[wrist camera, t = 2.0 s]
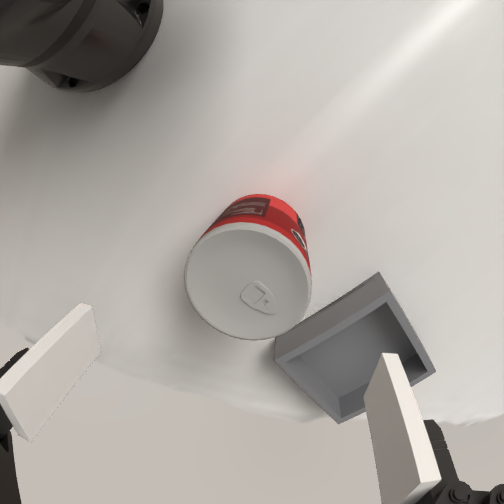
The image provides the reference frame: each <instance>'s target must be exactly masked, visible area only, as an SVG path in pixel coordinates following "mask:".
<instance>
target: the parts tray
mask: <svg viewBox="0 0 504 504" xmlns="http://www.w3.org/2000/svg"><path fill="white" fill-rule="evenodd" d="M382 353H393V354H398V356H399V359H400V361H401V364H402V366H403V368H404V371H405V374H406V376H407V379H408V381H409V384H410V386H411V387H412V386H414V385H415V384H417V383H419V382H420V381H422V380H424V379H425V378H427V377H428V376H430V375H432V374H433V373H435V372H436V370H435V368H434V366H433V364H432V362H431V360H430V358H429V356H428V354H427V352H426V350H425V348H424V347H423V345H422V343H421V341H420V339H419V338H418V336H417V334H416V332H415V331H414V329H413V327H412V325H411V324H410V322H409V320H408V318H407V317H406V315H405V313H404V312H403V310H402V308H401V307H400V305H399V303H398V302H397V300H396V298H395V297H394V295H393V293H392V292H391V290H390V288H389V287H388V285H387V284H386V282H385V280H384V279H383V277H382V276H381V274H380V273H379V272H378V273H376V274H375V275H373V276H372V277H370V278H369V279H367V280H366V281H364V282H363V283H362V284H360V285H359V286H357V287H356V288H354V289H352V290H351V291H349V292H348V293H346V294H345V295H343V296H342V297H340V298H339V299H337V300H336V301H334V302H332V303H331V304H329V305H328V306H326V307H325V308H323V309H321V310H320V311H318V312H317V313H315V314H313V315H312V316H310V317H308V318H307V319H305V320H304V321H302V322H300V323H299V324H297V325H295V326H294V327H293V328H291V329H290V330H289V331H287V332H286V333H284V334H281V335H279V336H277V337H276V342H275V353H274V361H275V362H276V363H277V364H278V365H279V366H280V367H281V369H282V370H283V371H284V372H285V373H286V374H287V375H288V376H289V377H290V378H291V379H292V380H293V381H294V382H295V383H296V384H297V385H298V386H299V387H300V388H301V389H303V390H304V391H305V392H306V393H307V394H308V395H309V396H310V397H311V398H312V399H313V400H314V401H315V402H316V403H317V404H318V405H319V406H320V407H321V408H322V409H323V410H324V411H325V412H326V413H327V414H328V415H329V416H330V417H331V418H333V419H334V420H335V421H336V422H337V423H338V424H340V423H342V422H344V421H347V420H349V419H351V418H353V417H355V416H357V415H359V414H361V413H363V412H365V411H366V408H365V403H364V398H363V396H364V394H365V392H366V390H367V388H368V385H369V383H370V381H371V378H372V376H373V374H374V371H375V369H376V367H377V364H378V362H379V359H380V357H381V354H382Z"/></svg>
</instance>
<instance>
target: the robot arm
mask: <svg viewBox="0 0 504 504" xmlns="http://www.w3.org/2000/svg"><path fill="white" fill-rule="evenodd" d="M162 14H163V0H0V65H6V66H17V67H25V68H26V69H28V70H29V71H31V72H32V73H34V74H35V75H36V76H38V77H39V78H41V79H42V80H43V81H45V82H46V83H48V84H49V85H51V86H53V87H55V88H57V89H60V90H65V91H73V92H90V91H94V90H98V89H100V88H103V87H105V86H108V85H109V84H111V83H113V82H115V81H116V80H118V79H119V78H121V77H122V76H123V75H125V74H126V73H127V72H128V71H129V70H130V69H131V68H132V67H134V66H135V64H136V63H137V62H138V61H139V60H140V59H141V58H142V56H143V55H144V54H145V52H146V51H147V50H148V48H149V47H150V45H151V43H152V42H153V40H154V38H155V36H156V34H157V31H158V29H159V26H160V23H161V19H162ZM100 353H101V349H100V344H99V339H98V334H97V328H96V322H95V316H94V310H93V306H90V305H86V304H83V303H80V304H79V305H77V306H76V307H75V308H74V309H73V310H72V311H71V312H70V313H68V314H67V315H66V316H65V317H64V318H63V319H62V320H61V321H60V322H58V323H57V324H56V325H55V326H54V327H53V328H52V329H51V330H50V331H49V332H48V333H47V334H45V335H44V336H43V337H42V338H41V339H40V340H39V341H38V342H37V343H36V344H35V345H34V346H33V347H32V348H31V349H28V348H25V349H24V350H21V351H20V352H18V353H16V354H15V355H14V356H13V357H12V358H11V359H10V361H8V362H7V363H6V364H5V366H4V367H2V368H1V369H0V504H21V499H20V494H19V489H18V483H17V477H16V470H15V462H14V455H13V445H12V436H11V432H10V429H11V428H12V427H14V429H15V430H16V432H17V434H18V435H19V436H21V437H22V438H24V439H25V440H27V441H29V442H31V443H32V441H33V440H34V439H35V437H36V436H37V435H38V433H39V432H40V430H41V429H42V428H43V426H44V425H45V424H46V422H47V421H48V420H49V418H50V417H51V416H52V414H53V413H54V412H55V410H56V409H57V408H58V406H59V405H60V404H61V402H62V401H63V400H64V398H65V397H66V396H67V395H68V393H69V392H70V391H71V389H72V388H73V387H74V386H75V384H76V383H77V382H78V380H79V379H80V378H81V377H82V375H83V374H84V372H86V370H87V369H88V368H89V366H90V365H91V364H92V363H93V361H94V360H95V359H96V358H97V356H98V355H99V354H100ZM363 398H364V403H365V408H366V413H367V418H368V423H369V428H370V433H371V439H372V444H373V449H374V455H375V461H376V468H377V474H378V481H379V488H380V494H381V502H382V504H504V484H500V485H498V486H495V487H494V488H493V489H492V490H491V491H490V492H487V491H473V490H472V489H471V488H470V486H469V485H467V484H466V483H465V482H462V481H459V479H458V477H457V474H456V471H455V468H454V464H453V461H452V459H451V456H450V453H449V450H448V449H447V444H446V441H444V436H443V433H442V431H441V428H440V427H439V426H438V425H437V424H436V422H435V421H434V420H423V419H422V416H421V413H420V411H419V408H418V405H417V402H416V400H415V397H414V394H413V392H412V389H411V386H410V384H409V381H408V379H407V376H406V374H405V371H404V368H403V366H402V364H401V361H400V359H399V356H398V354H393V353H382V354H381V357H380V359H379V362H378V364H377V367H376V369H375V371H374V374H373V376H372V378H371V381H370V383H369V385H368V388H367V390H366V392H365V394H364V396H363Z"/></svg>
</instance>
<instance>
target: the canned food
mask: <svg viewBox="0 0 504 504" xmlns="http://www.w3.org/2000/svg"><path fill="white" fill-rule="evenodd" d="M184 281H185V289H186V292H187V295H188V298H189V300H190V302H191V304H192V306H193V308H194V309H195V310H196V312H197V313H198V314H199V315H200V317H201V318H202V319H203V320H205V321H206V322H207V323H208V324H209V325H210V326H212V327H213V328H215V329H216V330H218V331H220V332H222V333H224V334H226V335H229V336H231V337H235V338H239V339H244V340H266V339H270V338H274V337H277V336H279V335H281V334H284V333H286V332H287V331H289V330H290V329H291V328H293V327H294V326H295V325H296V324H297V323H298V322H299V321H300V320H301V319H302V317H303V315H304V314H305V312H306V310H307V308H308V305H309V302H310V299H311V289H312V280H311V270H310V263H309V257H308V250H307V244H306V237H305V231H304V227H303V224H302V222H301V219H300V218H299V216H298V215H297V213H296V212H295V211H294V210H293V209H292V208H291V207H290V206H289V205H288V204H287V203H285V202H284V201H282V200H280V199H278V198H276V197H273V196H269V195H263V194H254V195H248V196H245V197H242V198H239V199H238V200H236V201H235V202H233V203H232V204H231V205H230V206H229V207H228V208H227V209H226V210H225V211H224V212H223V213H222V214H221V215H220V216H219V217H218V219H217V220H216V221H215V222H214V223H213V224H212V225H211V226H210V227H209V228H208V230H207V231H206V232H205V233H204V234H203V235H202V236H201V238H200V239H199V240H198V241H197V243H196V244H195V246H194V247H193V249H192V250H191V252H190V255H189V257H188V259H187V262H186V265H185V273H184Z"/></svg>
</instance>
